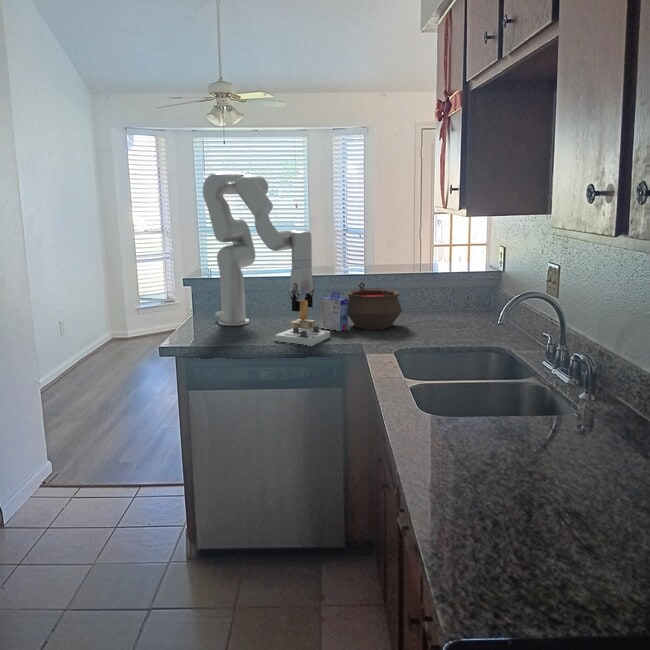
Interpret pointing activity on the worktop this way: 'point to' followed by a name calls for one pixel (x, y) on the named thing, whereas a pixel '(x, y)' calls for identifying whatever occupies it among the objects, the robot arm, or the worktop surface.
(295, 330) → the tab
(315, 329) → the tab
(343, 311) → the ink cartridge box
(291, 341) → the switch bank
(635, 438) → the worktop surface
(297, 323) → the stand
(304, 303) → the tan rounded cylinder
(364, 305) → the brown cauldron pot
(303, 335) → the tab
